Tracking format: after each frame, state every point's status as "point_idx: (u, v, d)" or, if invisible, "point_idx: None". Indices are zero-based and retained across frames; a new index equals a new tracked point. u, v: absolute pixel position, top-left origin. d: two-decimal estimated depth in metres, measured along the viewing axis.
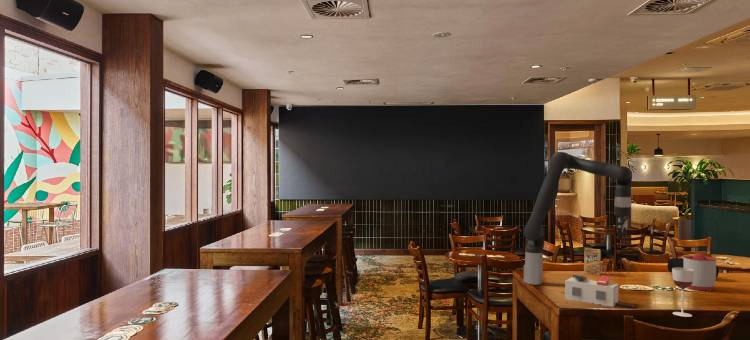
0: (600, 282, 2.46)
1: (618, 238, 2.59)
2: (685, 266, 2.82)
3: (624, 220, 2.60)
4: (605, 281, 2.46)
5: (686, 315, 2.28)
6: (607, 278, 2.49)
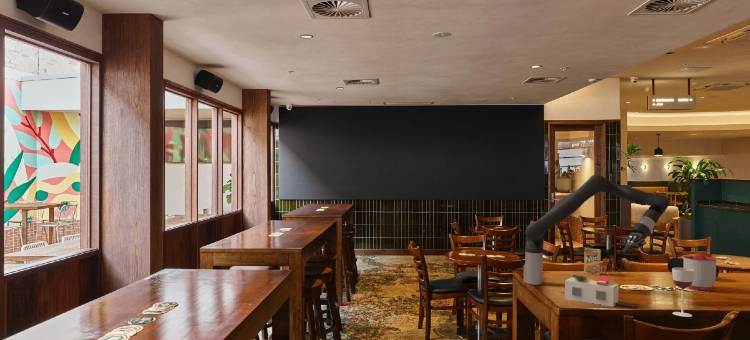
0: (600, 282, 2.46)
1: (625, 252, 2.56)
2: (685, 266, 2.82)
3: None
4: (605, 281, 2.46)
5: (686, 315, 2.28)
6: (607, 278, 2.49)
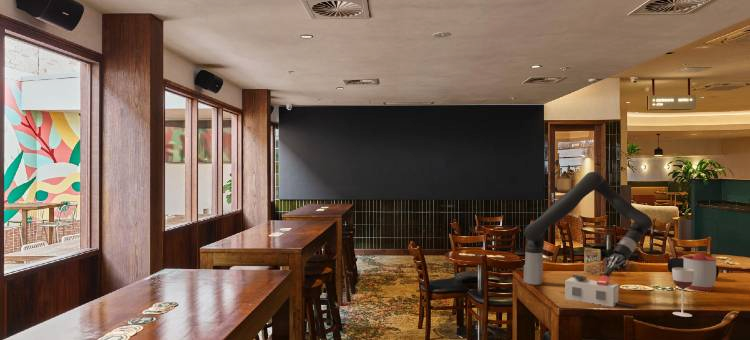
0: (600, 282, 2.46)
1: (606, 274, 2.51)
2: (685, 266, 2.82)
3: None
4: (605, 281, 2.46)
5: (686, 315, 2.28)
6: (607, 278, 2.49)
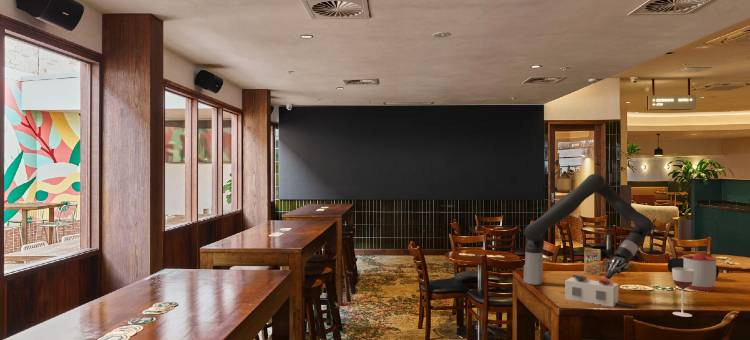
0: (600, 278, 2.46)
1: (607, 277, 2.51)
2: (685, 266, 2.82)
3: (622, 265, 2.53)
4: (605, 279, 2.46)
5: (686, 315, 2.28)
6: (607, 280, 2.49)
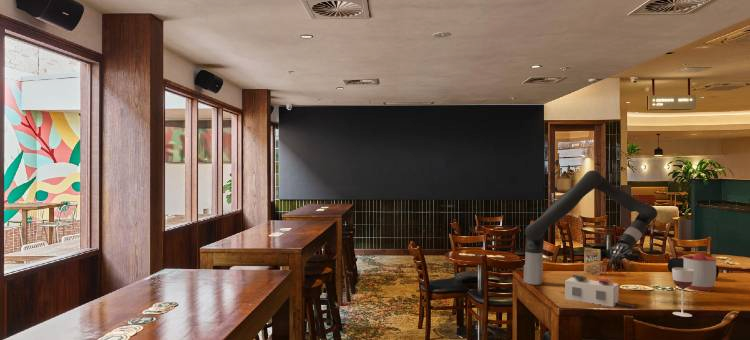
0: (600, 278, 2.46)
1: (611, 262, 2.56)
2: (685, 266, 2.82)
3: None
4: (605, 279, 2.46)
5: (686, 315, 2.28)
6: None
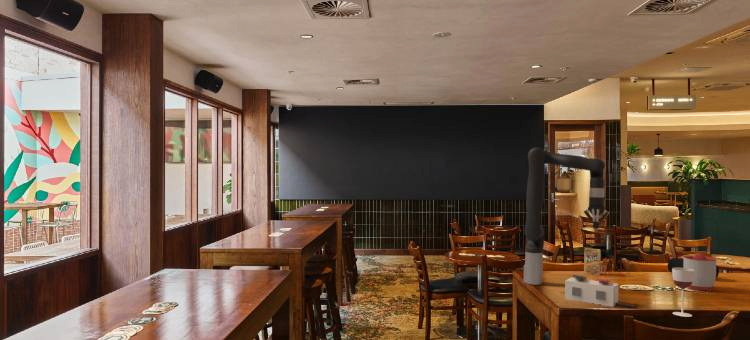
0: (600, 278, 2.46)
1: (597, 228, 2.79)
2: (685, 266, 2.82)
3: None
4: (605, 279, 2.46)
5: (686, 315, 2.28)
6: None
